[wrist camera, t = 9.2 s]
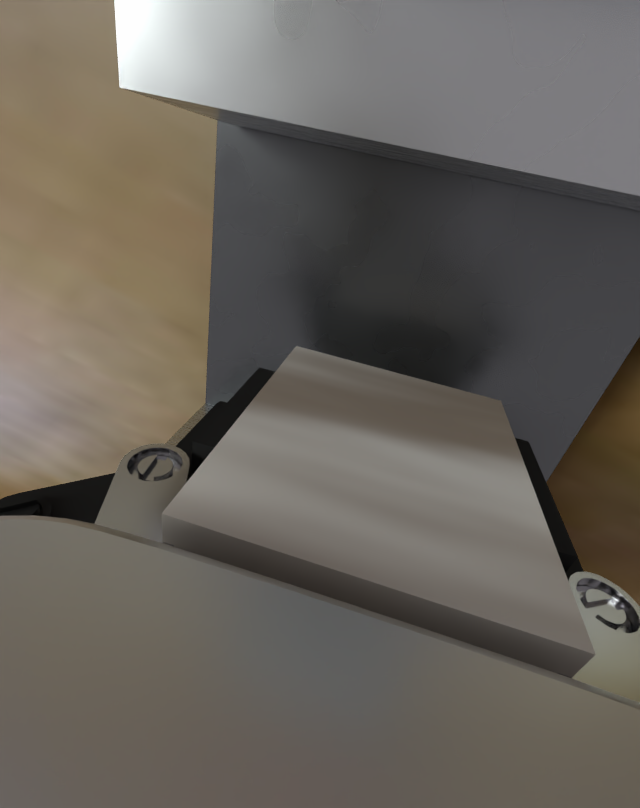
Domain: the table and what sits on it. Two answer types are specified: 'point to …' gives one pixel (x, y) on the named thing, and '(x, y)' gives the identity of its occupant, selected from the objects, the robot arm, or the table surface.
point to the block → (387, 508)
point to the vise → (418, 280)
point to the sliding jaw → (412, 80)
